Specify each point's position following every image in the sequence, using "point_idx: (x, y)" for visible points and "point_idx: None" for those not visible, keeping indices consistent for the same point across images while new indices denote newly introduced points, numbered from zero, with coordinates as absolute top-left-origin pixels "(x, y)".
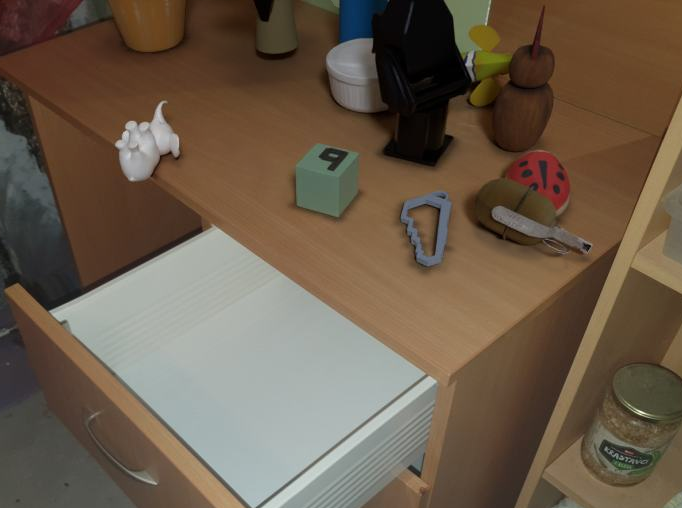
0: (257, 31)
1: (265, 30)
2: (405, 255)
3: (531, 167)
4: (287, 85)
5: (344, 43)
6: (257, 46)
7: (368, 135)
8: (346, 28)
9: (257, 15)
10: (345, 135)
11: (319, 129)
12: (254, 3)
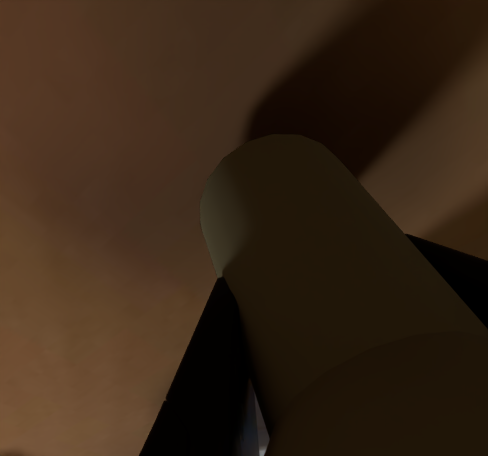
0: (221, 208)
1: (215, 269)
2: None
3: None
4: (162, 298)
5: (260, 454)
6: (208, 185)
7: (133, 449)
8: None
9: (246, 239)
10: (106, 439)
11: (84, 417)
12: (183, 358)
